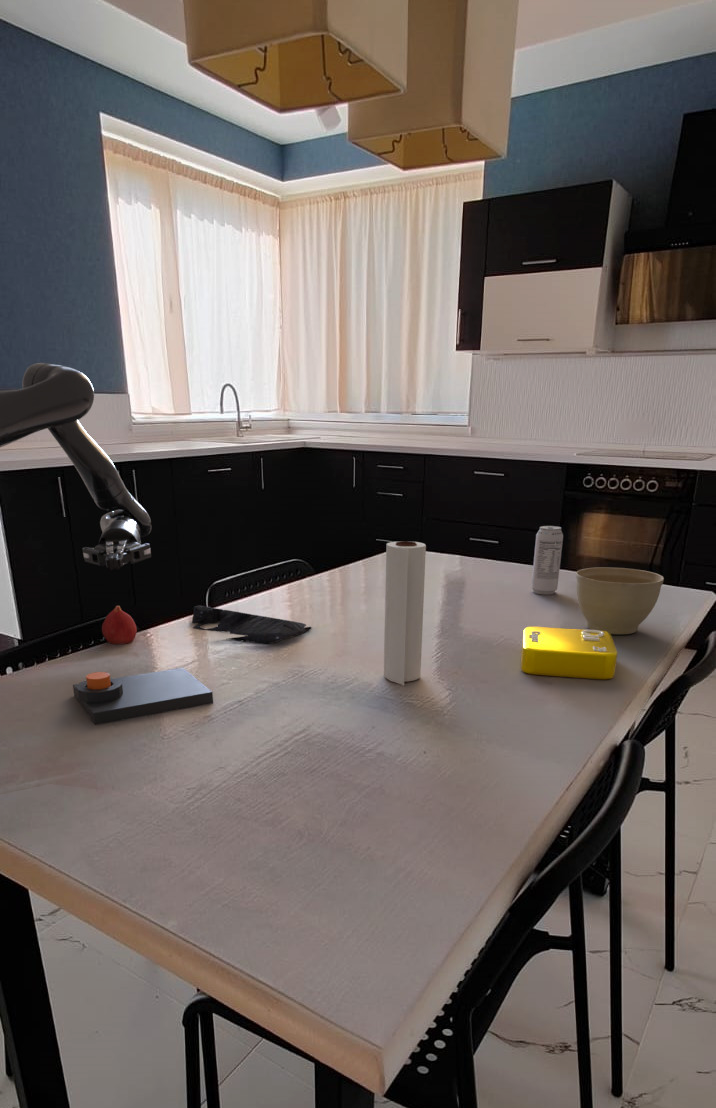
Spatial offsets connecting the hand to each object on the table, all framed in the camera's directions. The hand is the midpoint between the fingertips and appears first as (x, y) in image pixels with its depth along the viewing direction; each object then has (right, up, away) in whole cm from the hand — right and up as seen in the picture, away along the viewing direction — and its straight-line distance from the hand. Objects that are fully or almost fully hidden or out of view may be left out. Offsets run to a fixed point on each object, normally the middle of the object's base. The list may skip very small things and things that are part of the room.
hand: (113, 564), depth 138 cm
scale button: (+7, -24, -28) cm, 38 cm away
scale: (+12, -26, -24) cm, 37 cm away
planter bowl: (+94, -10, +15) cm, 96 cm away
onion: (+2, -16, -1) cm, 16 cm away
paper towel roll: (+51, -22, -14) cm, 57 cm away
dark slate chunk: (+23, -11, +10) cm, 27 cm away
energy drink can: (+88, +3, +44) cm, 99 cm away
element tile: (+80, -19, -6) cm, 82 cm away
